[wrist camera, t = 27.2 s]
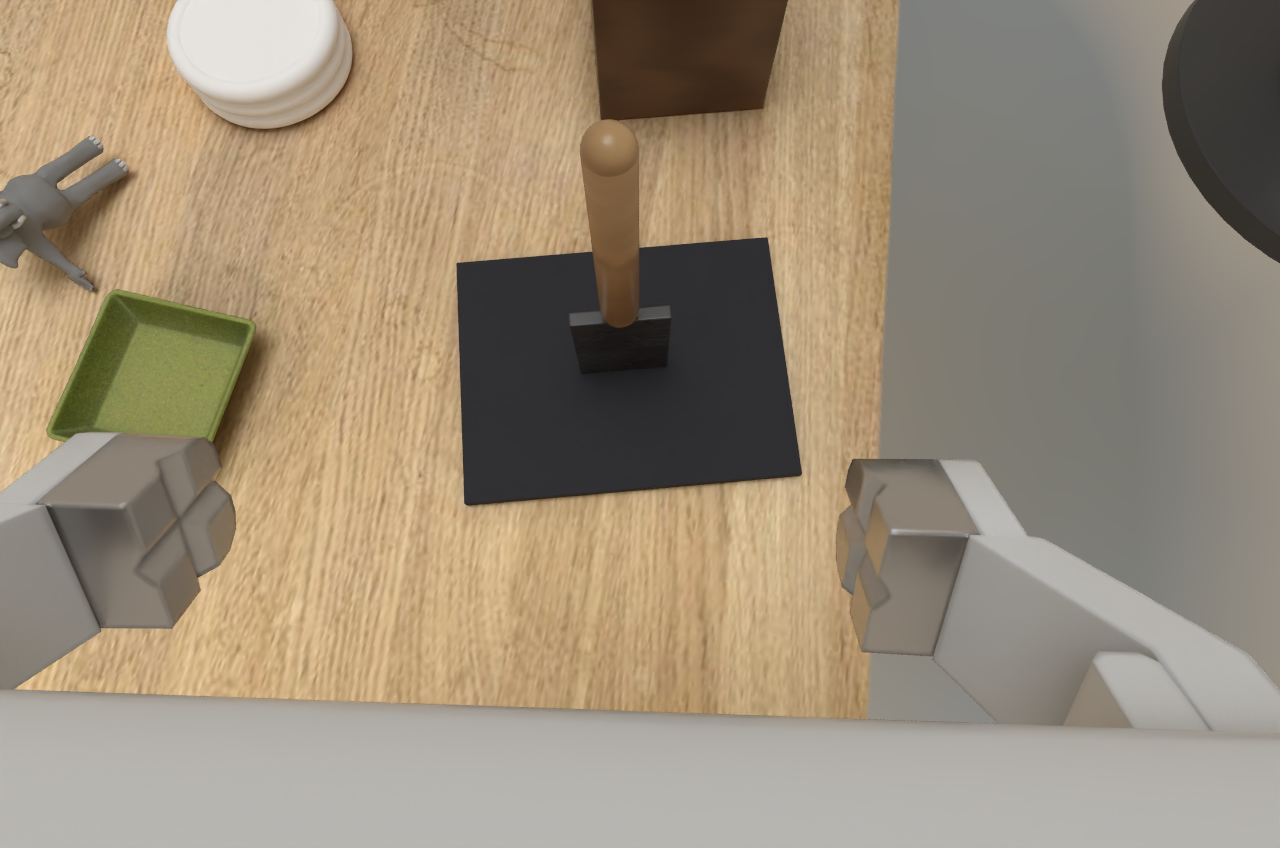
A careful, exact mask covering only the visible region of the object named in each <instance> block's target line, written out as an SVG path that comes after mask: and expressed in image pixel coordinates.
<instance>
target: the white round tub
mask: <svg viewBox="0 0 1280 848" xmlns="http://www.w3.org/2000/svg"><path fill="white" fill-rule="evenodd" d="M167 46H168V50H169V53H170V56H171V59H172V61H173V63H174V65H175V68H176V69H177V71H178V72H179V74H180V75H181V76H182V78H183V79H184V80H185V81H186V82H187V83H188V84H189V85H190V87H191V88H192V90H193V91H194V92H195V93H196V94H197V95H198V96H199V97H200V99H201V100H202V102H203V103H204V104H205V105H206V106H207V107H208V108H209V109H210V110H212V111H213V112H214V113H216V114H217V115H219V116H220V117H222V118H224V119H226V120H227V121H229V122H232V123H234V124H237V125H240V126H244V127H248V128H257V129H270V128H279V127H284V126H288V125H292V124H295V123H298V122H300V121H302V120H305V119H307V118H309V117H311V116H312V115H314V114H316V113H317V112H319V111H320V110H322V109H323V108H324V107H326V106H327V105H328V104H329V103H330V102H331V101H332V100H333V99H334V98H335V97H336V95H337V94H338V93H339V92H340V90H341V89H342V87H343V86H344V84H345V82H346V80H347V78H348V75H349V72H350V69H351V64H352V43H351V37H350V34H349V31H348V28H347V26H346V25H345V23H344V21H343V19H342V16H341V14H340V12H339V10H338V9H337V7H336V5H335V2H334V0H178V1H177V2H176V4H175V6H174V8H173V10H172V12H171V15H170V17H169V22H168V26H167Z"/></svg>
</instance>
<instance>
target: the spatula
mask: <svg viewBox="0 0 1280 848" xmlns="http://www.w3.org/2000/svg"><path fill="white" fill-rule="evenodd" d="M580 157H581V165H582V173H583V180H584V188H585V196H586V204H587V212H588V220H589V228H590V235H591V243H592V251H593V259H594V267H595V275H596V282H597V290H598V298H599V306H600V311H590V312H578V313H569V327H570V331H571V335H572V339H573V343H574V348H575V352H576V356H577V360H578V365H579V369H580V373H581V374H585V373H597V372H609V371H620V370H632V369H644V368H656V367H666V366H667V361H668V351H669V341H670V331H671V321H672V313H671V306H670V305H661V306H649V307H639V147H638V142H637V139H636V137H635V135H634V133H633V132H632V130H631V129H630V128H629V127H628V126H627V125H625V124H624V123H622V122H620V121H617V120H613V119H605V120H601V121H598V122H596V123H594V124H593V125H591V126H590V127H589V128H588V129H587V131H586V132H585V133H584V135H583V137H582V140H581V144H580Z"/></svg>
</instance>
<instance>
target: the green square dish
mask: <svg viewBox="0 0 1280 848" xmlns="http://www.w3.org/2000/svg"><path fill="white" fill-rule="evenodd" d="M255 330H256V324H255V323H254V322H253V321H251V320H247V319H244V318H239V317H235V316H232V315H226V314H222V313H218V312H213V311H208V310H204V309H200V308H195V307H191V306H187V305H183V304H179V303H175V302H170V301H166V300H162V299H158V298H154V297H149V296H145V295H140V294H136V293H132V292H128V291H123V290H119V289H116V290H114V291H112V292H110V293H109V294H108V295H107V296H106V298H105V300H104V302H103V304H102V306H101V308H100V311H99V313H98V315H97V317H96V320H95V322H94V325H93V327H92V329H91V331H90V334H89V336H88V338H87V340H86V343H85V345H84V348H83V350H82V352H81V354H80V356H79V359H78V361H77V364H76V366H75V368H74V370H73V372H72V374H71V376H70V378H69V381H68V383H67V385H66V387H65V389H64V392H63V394H62V396H61V398H60V401H59V403H58V405H57V407H56V409H55V411H54V413H53V416H52V418H51V420H50V422H49V425H48V427H47V429H46V431H47V434H48V436H49V437H50V438H52V439H55V440H58V441H63V442H66V441H67V440H69V439H70V438H71V437H73V436H74V435H75V434H78V433H86V432H122V433H125V434H127V433H136V434H155V435H175V436H194V437H205V438H206V439H208V440H209V441H210V442H212V443H213V440H214V438H215V435H216V432H217V430H218V427H219V425H220V422H221V420H222V417H223V414H224V412H225V409H226V407H227V404H228V402H229V399H230V397H231V394H232V391H233V389H234V386H235V384H236V381H237V379H238V376H239V374H240V371H241V369H242V366H243V364H244V361H245V359H246V356H247V354H248V351H249V349H250V346H251V344H252V341H253V338H254V335H255Z"/></svg>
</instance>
